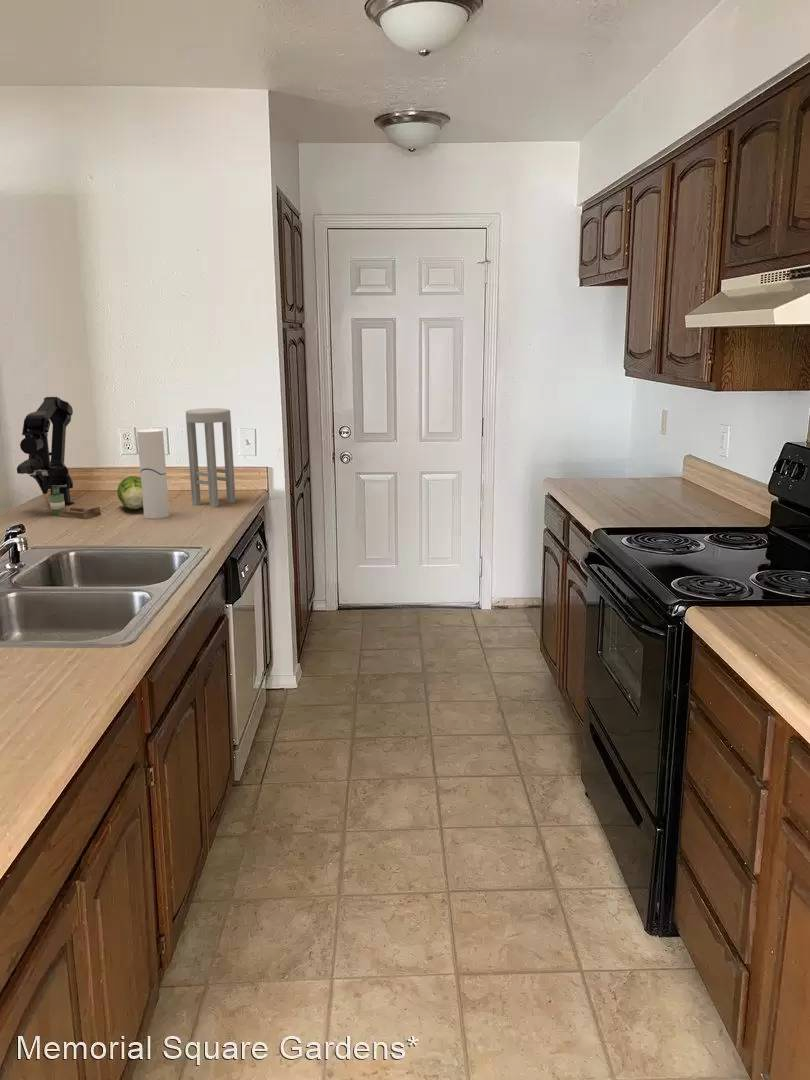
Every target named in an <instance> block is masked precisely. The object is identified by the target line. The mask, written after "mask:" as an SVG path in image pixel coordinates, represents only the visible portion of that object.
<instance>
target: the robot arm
mask: <svg viewBox="0 0 810 1080" xmlns="http://www.w3.org/2000/svg"><path fill="white" fill-rule="evenodd" d="M73 413H74V412H73V407H72V405H71V403H69V402H68V401H66V400H63V399H61V398H60V397H58V396H46V397H44V398H43V402H42V403H41V404H40V406H39V407H38V408H37V409H36V410H35V411H34V412H33V411H32V412H29V413H28V414H27V415H26V416H25V418H24V420H23V426H22V432H21V435H22V436H24V438H23V439H22V440H21V441H20V444H19V446H20V450H21V452H23V453H24V454H25V455H26V454H27V455H28V459H26V460H24V461H22V462H21V463H19V464H18V466H17V467H16V470H17V471H16V473H17V474H20V475H21V474H22V475H25V474H27V475H29V476H30V477H32V478H33V479H34V480H35V481H36V483H37V484H38V486H39V488H40V490H41V493H42V494H44V495H46V494H48V492H49V490H50V494H49V495H51V494H53V490H52V486H59V487H60V488H59V493H60V494H64V502H65V506H67V505H72V504H74V503H75V501H71V494H70V489H74V481H73V479H72V477H71V475H70V473H69V468H68V467H67V466H66V464H65V456H66V455H65V452H66V451H65V450H66V436H67V435H66V433H67V427H68V425H69V424H70V423H71V421H72V416H73V415H74V414H73ZM51 424H52V430H51V433H52V434H51V450H49V449H50V448H49V439H48V436H49V434H48V433H49V430H50V427H51ZM48 506H50V503H48Z"/></svg>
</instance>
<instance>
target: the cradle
mask: <svg viewBox="0 0 810 1080" xmlns="http://www.w3.org/2000/svg"><path fill="white" fill-rule="evenodd" d="M58 512H59V515H58V517H61V518H72V519H81V520H84V519H85V520H88V519H92V518H95V517H99V516H101V515H102V514H101V507H100V506H93V507H91V508H85V507H75V506H73V507H72V506H71V507H69V510H66V509H65V510H60V511H58Z"/></svg>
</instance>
